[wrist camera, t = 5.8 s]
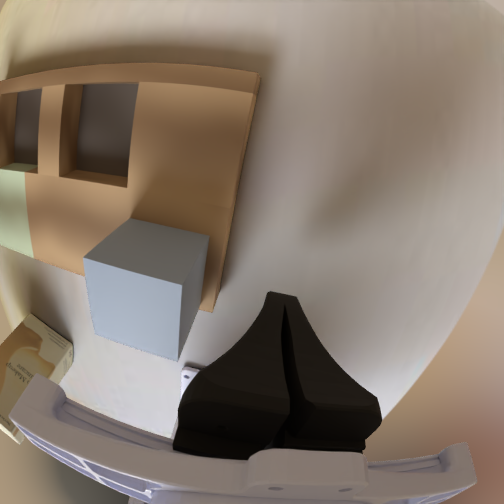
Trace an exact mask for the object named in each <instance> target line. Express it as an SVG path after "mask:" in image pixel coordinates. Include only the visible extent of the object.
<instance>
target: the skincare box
mask: <svg viewBox="0 0 504 504" xmlns="http://www.w3.org/2000/svg"><path fill="white" fill-rule="evenodd" d="M72 361H73V345H72V344H71V343H70V342H69V341H67V340H66V339H64V338H63V337H62V336H60V335H59V334H58V333H56V332H55V331H53V330H52V329H51V328H49V327H48V326H47V325H45V324H44V323H43V322H41V321H40V320H39V319H37V318H36V317H35V316H34V315H32V314H31V313H30V314H29V315H28V316H27V317H26V318H25V319H24V320H23V321H22V322H21V323H20V324H19V325H18V327H17V328H16V329H15V330H14V331H13V332H12V333H11V334H10V335H9V336H8V337H7V339H6V340H5V341H4V342H3V343H2V344H1V345H0V429H1V430H2V431H4V432H5V433H6V434H7V435H8V436H10V437H11V438H12V439H13V440H15V441H16V442H17V443H19V444H21V443H22V441H23V440H24V438H25V435H24V434H23V433H22V432H21V431H20V430H19V429H18V427H17V426H16V425H15V424H14V423H13V422H12V421H11V419H10V418H9V416H8V415H9V414H10V412H11V410H12V409H13V407H14V406H15V404H16V402H17V401H18V399H19V398H20V396H21V395H22V393H23V392H24V390H25V389H26V387H27V386H28V384H29V383H30V381H31V380H32V378H33V377H34V375H35V374H36V373H38V374H40V375H42V376H44V377H45V378H47V379H49V380H51V381H53V382H55V383H56V384H59V383H60V381H61V380H62V378H63V377H64V376H65V374H66V373H67V371H68V370H69V368H70V367H71V366H72Z"/></svg>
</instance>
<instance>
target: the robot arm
mask: <svg viewBox="0 0 504 504" xmlns="http://www.w3.org/2000/svg"><path fill="white" fill-rule="evenodd" d="M8 416H9V418H10V419H11V421H12V422H13V423H14V424H15V425H16V426H17V427H18V429H19V430H20V431H21V432H22V433H23V434H24V435H25V436H26V437H27V438H28V439H29V440H30V441H31V442H32V443H33V444H34V445H36V446H37V447H39V448H40V449H42V450H43V451H45V452H47V453H48V454H50V455H51V456H53V457H55V458H56V459H58V460H60V461H61V462H63V463H65V464H67V465H68V466H70V467H72V468H74V469H75V470H77V471H79V472H81V473H83V474H85V475H86V476H88V477H90V478H92V479H94V480H96V481H98V482H100V483H102V484H104V485H106V486H108V487H110V488H113V489H115V490H117V491H120V492H122V493H124V494H126V495H129V496H130V499H129V502H128V504H437V503H440V502H443V501H445V500H447V499H449V498H451V497H453V496H455V495H456V494H458V493H460V492H462V491H464V490H466V489H467V488H469V487H470V486H472V485H474V484H476V483H477V478H476V474H475V470H474V466H473V462H472V458H471V455H470V451H469V448H468V444H467V443H466V442H464V443H459V444H454V445H451V446H449V447H447V448H445V449H444V450H442V451H441V452H440V453H439V454H436V455H430V456H424V457H417V458H410V459H402V460H393V461H382V462H367V458H366V457H365V456H364V455H363V453H362V450H364V449H365V447H366V446H365V439H367V438H368V437H369V436H370V435H371V434H372V433H373V432H374V431H375V430H376V429H377V428H378V427H379V426H380V424H381V422H382V416H381V410H380V406H379V402H378V399H377V397H376V396H374V395H373V394H371V393H370V392H369V391H367V390H366V389H365V388H363V387H362V386H361V385H359V384H358V383H357V382H356V381H355V380H354V379H352V378H351V377H350V376H349V375H348V374H347V373H346V372H345V371H344V370H343V369H342V368H341V367H340V366H339V365H338V364H337V363H336V362H335V360H334V359H333V358H332V357H331V356H330V354H329V353H328V352H327V350H326V349H325V348H324V346H323V345H322V344H321V342H320V341H319V339H318V337H317V336H316V334H315V332H314V331H313V329H312V327H311V325H310V323H309V322H308V320H307V318H306V316H305V314H304V312H303V310H302V307H301V305H300V303H299V301H298V299H297V297H295V296H290V295H286V294H281V293H276V292H272V291H270V292H268V293H267V295H266V299H265V302H264V306H263V308H262V310H261V311H260V313H259V315H258V317H257V318H256V320H255V321H254V323H253V324H252V325H251V327H250V328H249V329H248V331H247V332H246V333H245V334H244V335H243V337H242V338H241V339H240V340H239V341H238V342H237V343H236V344H235V345H234V346H233V347H232V348H231V349H230V350H228V351H227V352H226V353H225V354H223V355H222V356H221V357H220V358H218V359H217V360H216V361H214V362H213V363H211V364H210V365H208V366H206V367H205V368H203V369H202V370H198V369H194V368H191V367H183V368H182V371H181V395H180V404H179V408H178V417H177V420H176V423H175V426H174V429H173V433H172V436H171V439H170V438H167V437H163V436H160V435H157V434H154V433H151V432H148V431H145V430H142V429H139V428H136V427H133V426H131V425H128V424H125V423H123V422H120V421H118V420H115V419H113V418H110V417H108V416H105V415H103V414H101V413H98V412H96V411H94V410H92V409H89V408H87V407H85V406H83V405H81V404H79V403H77V402H75V401H73V400H71V399H69V398H67V397H66V394H65V392H64V390H63V389H62V388H61V387H60V386H59V385H58V384H56V383H55V382H53V381H51V380H49V379H47V378H45V377H44V376H42V375H40V374H38V373H36V374H35V375H34V377H33V378H32V380H31V381H30V383H29V384H28V386H27V387H26V389H25V390H24V392H23V393H22V395H21V396H20V398H19V399H18V401H17V402H16V404H15V406H14V407H13V409H12V410H11V412H10V414H9V415H8Z"/></svg>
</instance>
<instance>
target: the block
mask: <svg viewBox="0 0 504 504" xmlns="http://www.w3.org/2000/svg"><path fill="white" fill-rule="evenodd" d="M209 237H210V236H208V235H204V234H199V233H195V232H190V231H186V230H182V229H177V228H173V227H168V226H164V225H159V224H155V223H150V222H146V221H141V220H136V219H132V218H129V219H128V220H127V221H125V222H124V223H123V224H122V225H121V226H119V227H118V228H117V229H116V230H114V231H113V232H112V233H111V234H110V235H108V236H107V237H106V238H105V239H104V240H102V241H101V242H100V243H99V244H98V245H96V246H95V247H94V248H93V249H92V250H91V251H89V252H88V253H87V254H86V255H85V256H84V257H83V263H84V272H85V279H86V287H87V293H88V299H89V305H90V311H91V316H92V321H93V326H94V331H95V334H96V335H98V336H101V337H104V338H106V339H109V340H112V341H115V342H117V343H120V344H123V345H126V346H129V347H132V348H135V349H138V350H141V351H144V352H147V353H150V354H153V355H156V356H160V357H163V358H166V359H170V360H173V361H177V362H178V360H179V357H180V355H181V352H182V350H183V347H184V344H185V342H186V339H187V337H188V334H189V332H190V329H191V327H192V324H193V322H194V319H195V317H196V314H197V312H198V309H199V307H200V302H201V294H202V286H203V279H204V271H205V264H206V257H207V250H208V243H209Z"/></svg>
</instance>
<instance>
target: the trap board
mask: <svg viewBox="0 0 504 504" xmlns="http://www.w3.org/2000/svg"><path fill="white" fill-rule="evenodd" d="M260 80H261V78H260V76H259V74H258V73H256V72H250V71H244V70H237V69H230V68H222V67H214V66H204V65H192V64H176V63H113V64H97V65H86V66H77V67H69V68H61V69H55V70H49V71H43V72H38V73H32V74H28V75H23V76H19V77H14V78H10V79H6V80H3V81H0V245H2V246H4V247H6V248H9V249H11V250H14V251H16V252H19V253H21V254H24V255H27V256H29V257H32V258H34V259H37V260H40V261H42V262H45V263H48V264H51V265H53V266H56V267H59V268H62V269H65V270H67V271H70V272H73V273H76V274H79V275H82V276H85V272H84V263H83V257H84V256H85V255H86V254H87V253H88V252H89V251H91V250H92V249H93V248H94V247H95V246H96V245H98V244H99V243H100V242H101V241H102V240H104V239H105V238H106V237H107V236H108V235H110V234H111V233H112V232H113V231H114V230H116V229H117V228H118V227H119V226H121V225H122V224H123V223H124V222H125V221H127V220H128V219H129V218H132V219H136V220H141V221H146V222H150V223H155V224H159V225H164V226H168V227H173V228H177V229H182V230H186V231H190V232H195V233H199V234H204V235H208V236H210V237H209V243H208V250H207V257H206V264H205V271H204V279H203V286H202V294H201V302H200V307H199V310H203V311H207V312H211V313H212V312H213V309H214V306H215V303H216V300H217V298H218V295H219V290H220V284H221V278H222V272H223V267H224V261H225V255H226V250H227V244H228V239H229V233H230V228H231V222H232V217H233V212H234V207H235V201H236V196H237V191H238V186H239V181H240V176H241V171H242V165H243V161H244V156H245V151H246V146H247V141H248V136H249V131H250V126H251V122H252V117H253V112H254V108H255V103H256V98H257V94H258V89H259V85H260Z"/></svg>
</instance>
